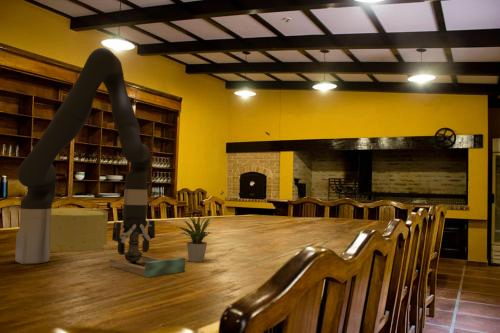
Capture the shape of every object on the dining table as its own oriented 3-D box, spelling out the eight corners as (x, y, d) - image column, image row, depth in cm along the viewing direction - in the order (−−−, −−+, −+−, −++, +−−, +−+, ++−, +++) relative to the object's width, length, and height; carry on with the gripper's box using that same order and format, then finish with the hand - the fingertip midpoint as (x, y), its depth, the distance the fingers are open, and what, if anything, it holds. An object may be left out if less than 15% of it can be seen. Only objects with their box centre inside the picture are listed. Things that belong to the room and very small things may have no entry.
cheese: (122, 246, 175) (123, 210, 175) (65, 254, 153) (67, 213, 153) (82, 240, 189) (83, 207, 189) (24, 247, 167) (27, 208, 167)
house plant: (194, 255, 159) (195, 211, 159) (224, 259, 151) (226, 213, 152) (168, 260, 146) (170, 213, 147) (200, 265, 139) (202, 215, 140)
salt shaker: (139, 266, 134) (140, 228, 135) (120, 266, 134) (122, 228, 135) (144, 263, 140) (145, 227, 140) (126, 262, 140) (128, 226, 141)
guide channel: (147, 277, 119) (148, 263, 120) (109, 265, 134) (110, 253, 134) (184, 271, 129) (185, 258, 129) (145, 261, 144) (145, 249, 144)
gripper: (121, 204, 130) (119, 257, 129) (160, 203, 141) (158, 252, 140) (109, 203, 135) (107, 253, 135) (147, 202, 146) (146, 249, 145)
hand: (133, 253), depth 137 cm, fingers open, 8 cm apart
